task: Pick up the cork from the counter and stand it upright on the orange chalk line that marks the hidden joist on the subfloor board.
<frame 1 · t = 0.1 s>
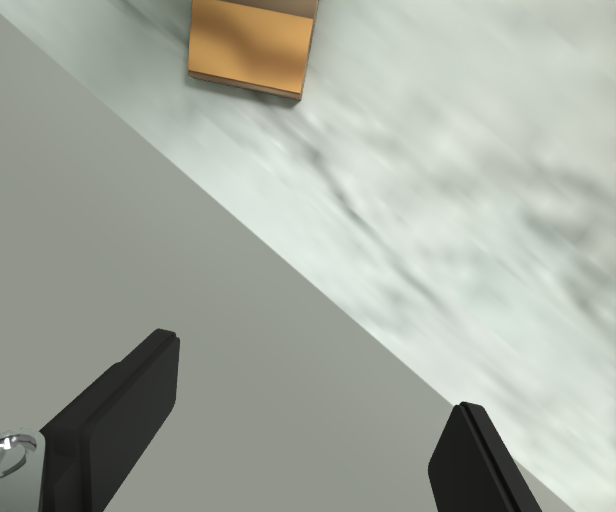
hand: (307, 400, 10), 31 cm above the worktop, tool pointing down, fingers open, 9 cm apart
subfloor board: (256, 19, 34), on the worktop
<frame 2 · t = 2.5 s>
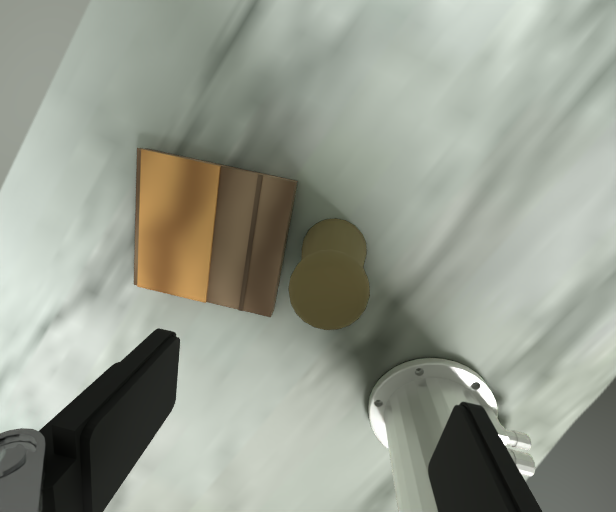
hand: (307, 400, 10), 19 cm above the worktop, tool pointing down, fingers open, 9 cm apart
cork: (333, 249, 29), on the worktop
subfloor board: (214, 233, 30), on the worktop
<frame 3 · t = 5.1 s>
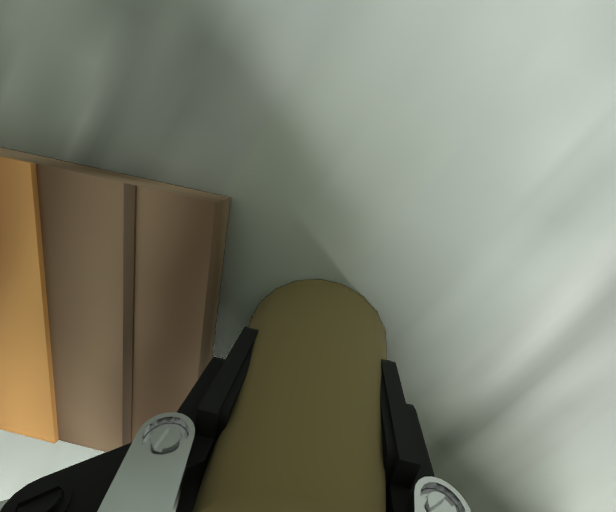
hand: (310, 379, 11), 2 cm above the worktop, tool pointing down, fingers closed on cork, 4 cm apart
cork: (316, 341, 14), on the worktop, touching gripper
subfloor board: (68, 304, 14), on the worktop
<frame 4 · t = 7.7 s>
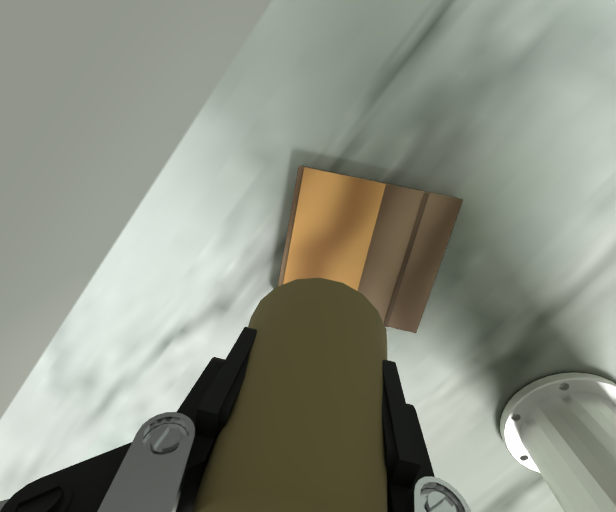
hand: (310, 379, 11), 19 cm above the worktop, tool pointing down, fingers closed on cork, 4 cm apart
cork: (316, 339, 14), point 17 cm above the worktop, touching gripper
subfloor board: (360, 249, 30), on the worktop
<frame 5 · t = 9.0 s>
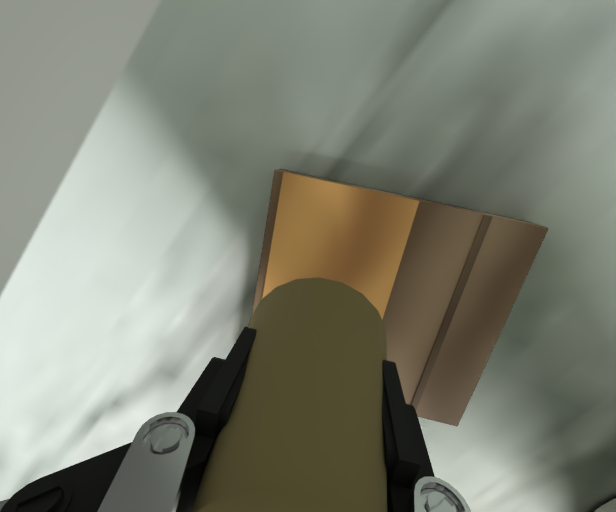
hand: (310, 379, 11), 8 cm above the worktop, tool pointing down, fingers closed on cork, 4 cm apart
cork: (316, 339, 14), point 6 cm above the worktop, touching gripper
subfloor board: (372, 299, 19), on the worktop
when the fingers open (5 cm above the worktop, at t = 10.3 s): cork drops 1 cm, resting on subfloor board.
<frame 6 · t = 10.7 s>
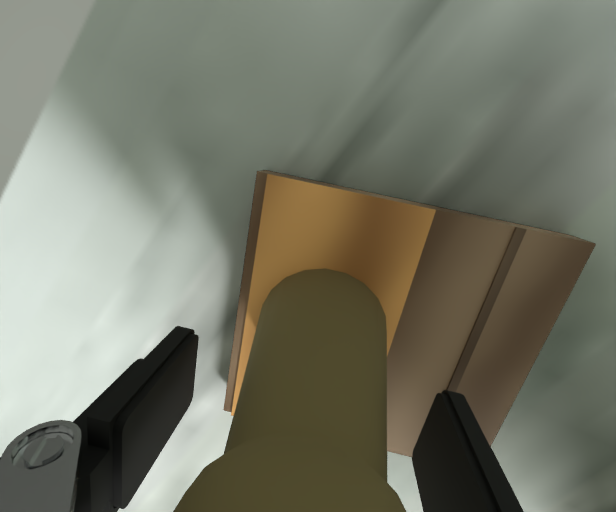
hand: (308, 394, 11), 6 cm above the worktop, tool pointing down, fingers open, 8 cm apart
cork: (322, 326, 15), point 2 cm above the worktop, touching subfloor board
subfloor board: (376, 324, 16), on the worktop
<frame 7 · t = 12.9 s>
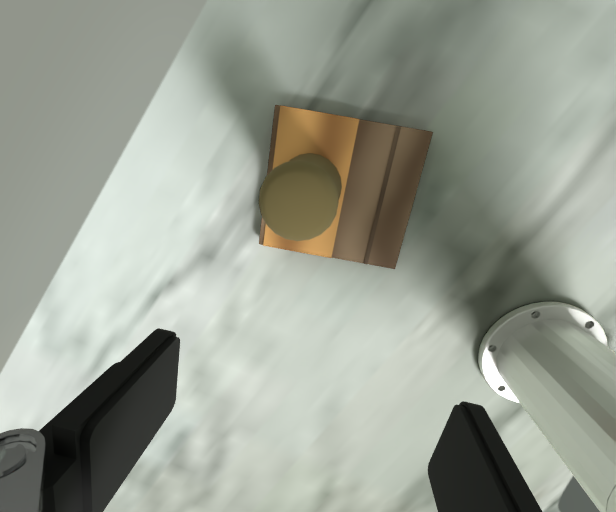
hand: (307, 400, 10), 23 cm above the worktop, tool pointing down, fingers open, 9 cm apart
cork: (309, 186, 29), point 2 cm above the worktop, touching subfloor board
subfloor board: (338, 190, 31), on the worktop
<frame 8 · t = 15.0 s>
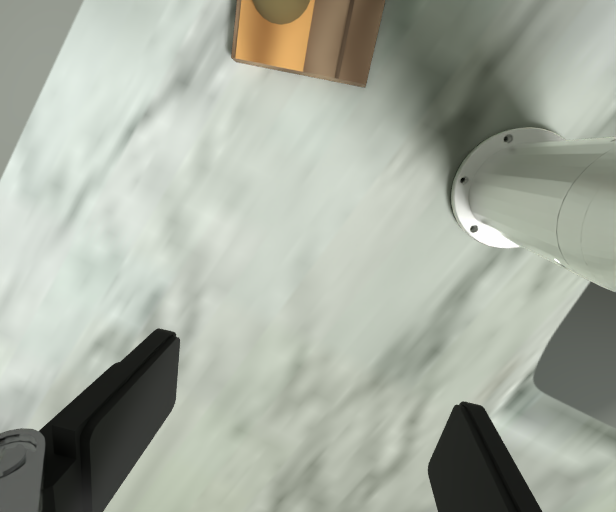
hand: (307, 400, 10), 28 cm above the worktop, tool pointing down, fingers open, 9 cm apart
subfloor board: (312, 1, 31), on the worktop
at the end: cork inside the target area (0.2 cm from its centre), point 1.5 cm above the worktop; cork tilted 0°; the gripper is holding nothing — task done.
